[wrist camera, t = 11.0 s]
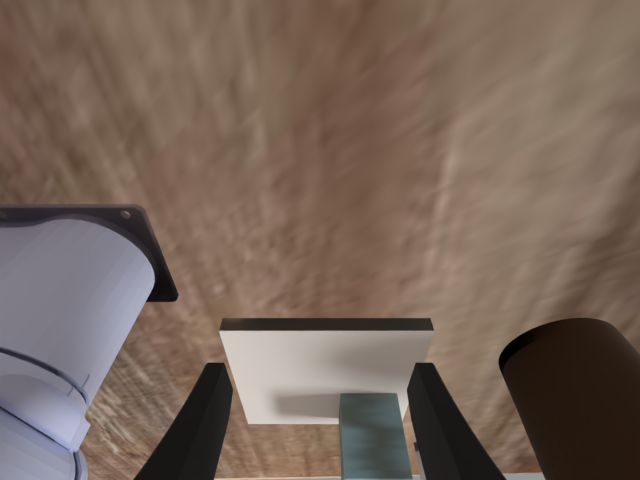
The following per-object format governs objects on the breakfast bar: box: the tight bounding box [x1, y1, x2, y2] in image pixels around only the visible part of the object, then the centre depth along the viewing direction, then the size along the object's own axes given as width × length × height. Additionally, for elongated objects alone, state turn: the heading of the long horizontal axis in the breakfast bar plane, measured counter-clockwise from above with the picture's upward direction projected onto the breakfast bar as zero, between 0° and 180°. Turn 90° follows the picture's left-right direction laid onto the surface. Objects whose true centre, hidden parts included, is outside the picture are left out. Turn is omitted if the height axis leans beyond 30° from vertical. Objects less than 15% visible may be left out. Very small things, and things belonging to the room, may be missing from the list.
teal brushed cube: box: [338, 393, 413, 480], centre depth 29 cm, size 5×5×7 cm
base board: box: [219, 318, 434, 424], centre depth 30 cm, size 16×16×1 cm
